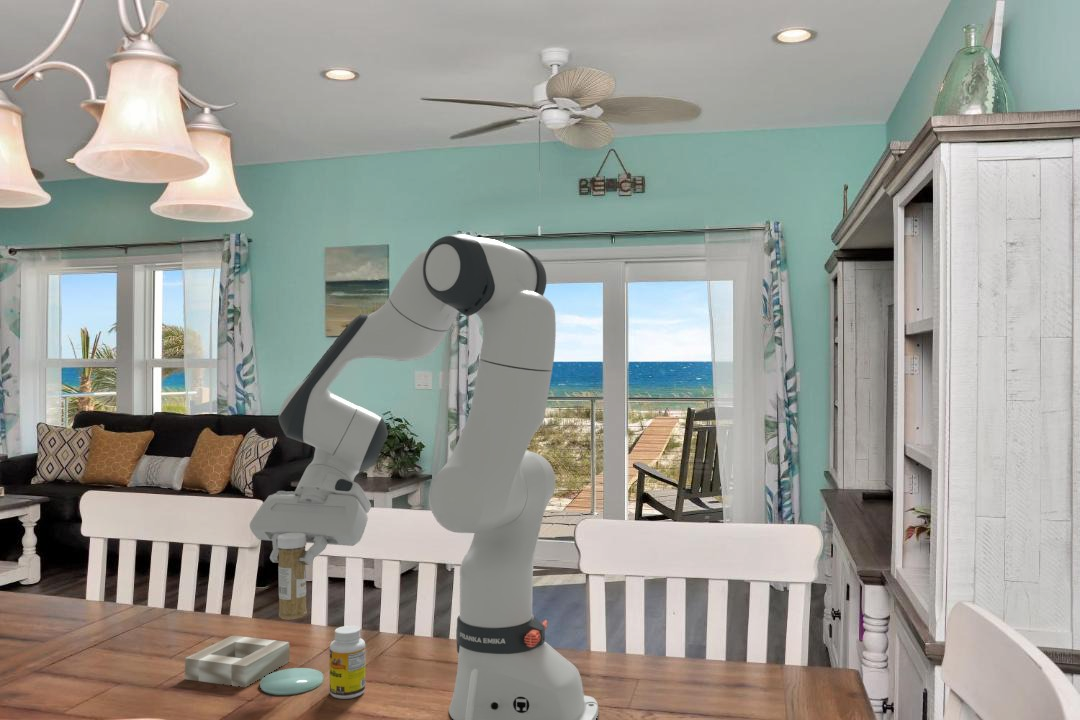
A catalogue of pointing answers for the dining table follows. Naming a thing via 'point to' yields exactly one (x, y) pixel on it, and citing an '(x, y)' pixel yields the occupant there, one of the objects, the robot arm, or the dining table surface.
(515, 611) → the robot arm
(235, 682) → the bore block
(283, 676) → the coaster
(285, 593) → the sprinkles bottle
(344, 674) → the supplement bottle
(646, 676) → the dining table surface
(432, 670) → the dining table surface
